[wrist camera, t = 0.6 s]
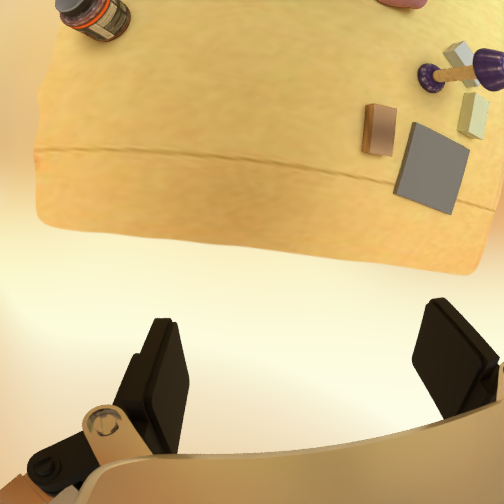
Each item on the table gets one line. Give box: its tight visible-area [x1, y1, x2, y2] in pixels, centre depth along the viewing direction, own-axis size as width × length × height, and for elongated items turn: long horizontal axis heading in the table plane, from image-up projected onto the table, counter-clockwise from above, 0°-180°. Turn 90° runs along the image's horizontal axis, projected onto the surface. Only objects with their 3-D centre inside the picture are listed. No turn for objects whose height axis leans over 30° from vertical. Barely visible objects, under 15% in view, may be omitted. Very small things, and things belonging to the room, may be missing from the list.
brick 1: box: [362, 104, 397, 157], centre depth 34 cm, size 6×3×3 cm, turn 176°
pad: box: [393, 122, 470, 215], centre depth 37 cm, size 10×10×1 cm
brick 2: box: [443, 41, 480, 87], centre depth 30 cm, size 6×3×3 cm, turn 45°
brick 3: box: [457, 93, 490, 140], centre depth 33 cm, size 6×3×3 cm, turn 167°
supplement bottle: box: [55, 0, 130, 41], centre depth 24 cm, size 6×6×11 cm
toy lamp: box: [418, 48, 504, 93], centre depth 25 cm, size 5×5×17 cm
